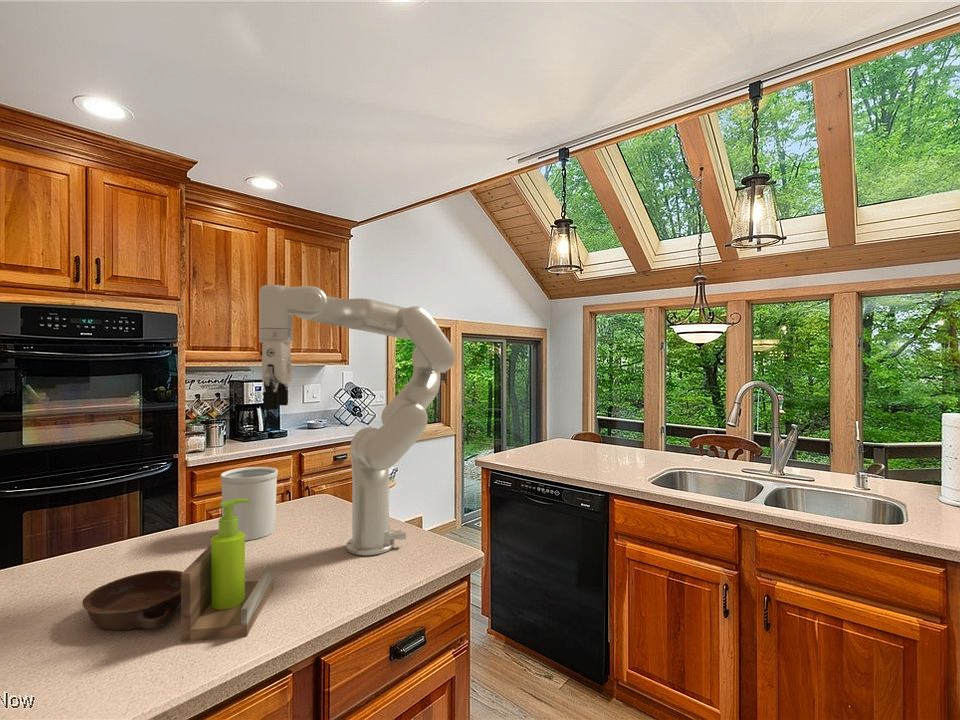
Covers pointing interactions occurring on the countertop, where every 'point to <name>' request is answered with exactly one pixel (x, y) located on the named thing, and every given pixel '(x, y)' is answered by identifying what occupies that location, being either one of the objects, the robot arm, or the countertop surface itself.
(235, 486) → the utensil holder
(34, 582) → the countertop surface
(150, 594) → the dish
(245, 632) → the board
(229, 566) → the soap dispenser
